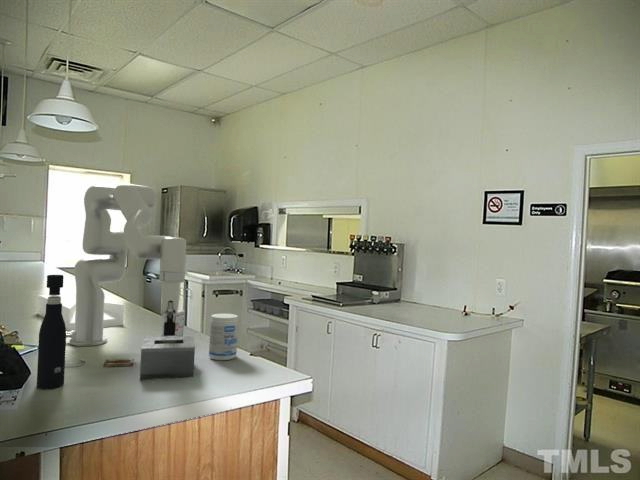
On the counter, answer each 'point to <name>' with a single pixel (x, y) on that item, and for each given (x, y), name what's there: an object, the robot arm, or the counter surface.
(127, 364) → the cradle
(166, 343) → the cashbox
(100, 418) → the counter surface
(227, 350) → the supplement tub
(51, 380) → the black water bottle
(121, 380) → the counter surface
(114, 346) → the counter surface
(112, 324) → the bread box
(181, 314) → the ink box
